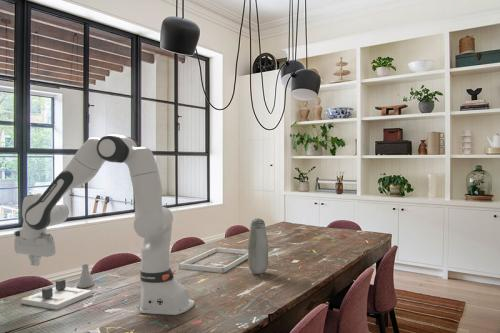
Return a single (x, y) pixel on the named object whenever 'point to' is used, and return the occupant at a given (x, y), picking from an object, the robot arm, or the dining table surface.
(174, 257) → the dining table surface
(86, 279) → the flask
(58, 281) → the block
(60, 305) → the plate
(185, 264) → the tray
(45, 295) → the block
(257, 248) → the grey bottle
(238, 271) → the dining table surface
